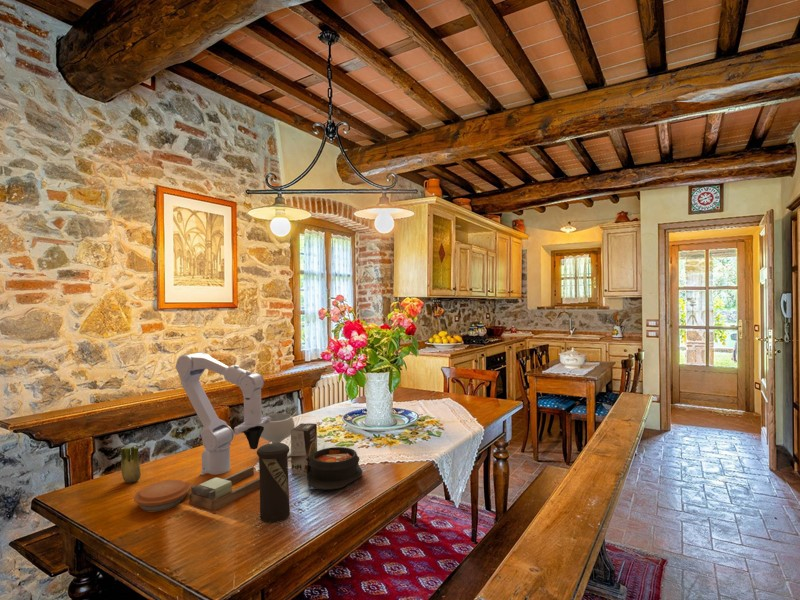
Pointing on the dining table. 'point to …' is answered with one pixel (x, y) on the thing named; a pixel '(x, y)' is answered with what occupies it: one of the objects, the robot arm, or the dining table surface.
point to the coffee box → (303, 447)
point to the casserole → (333, 468)
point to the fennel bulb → (130, 464)
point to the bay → (208, 500)
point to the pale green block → (218, 486)
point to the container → (274, 482)
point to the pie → (162, 495)
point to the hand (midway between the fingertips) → (253, 448)
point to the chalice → (278, 428)
